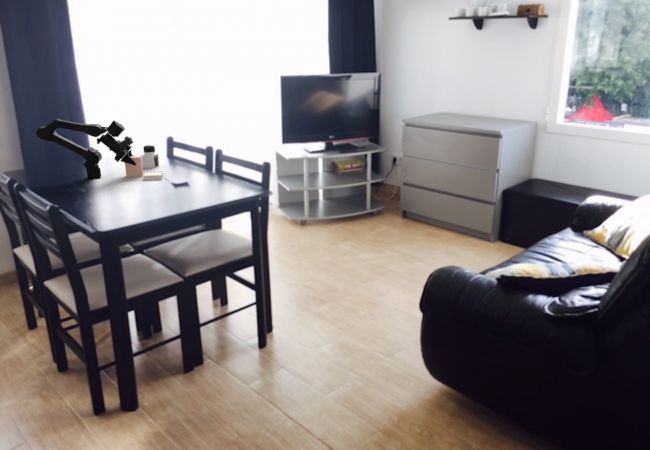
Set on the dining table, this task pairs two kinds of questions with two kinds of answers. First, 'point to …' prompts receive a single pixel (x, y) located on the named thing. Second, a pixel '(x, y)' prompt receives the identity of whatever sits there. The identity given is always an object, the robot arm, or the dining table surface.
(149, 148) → the medicine bottle
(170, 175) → the dining table surface
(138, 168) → the pink rectangular block
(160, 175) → the board
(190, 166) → the dining table surface
